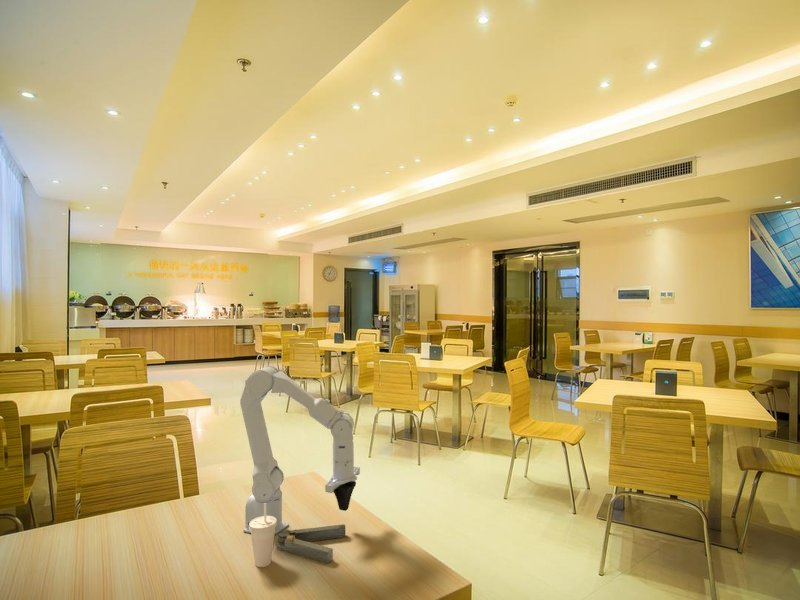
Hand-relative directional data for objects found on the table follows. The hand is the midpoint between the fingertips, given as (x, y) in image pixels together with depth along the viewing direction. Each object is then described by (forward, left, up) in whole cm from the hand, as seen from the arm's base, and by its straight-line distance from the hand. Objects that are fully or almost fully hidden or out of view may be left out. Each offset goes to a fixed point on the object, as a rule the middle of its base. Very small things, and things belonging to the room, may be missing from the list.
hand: (343, 509), depth 122 cm
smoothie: (-9, -22, -5) cm, 24 cm away
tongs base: (-3, -14, -5) cm, 15 cm away
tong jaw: (-4, -9, -5) cm, 11 cm away
